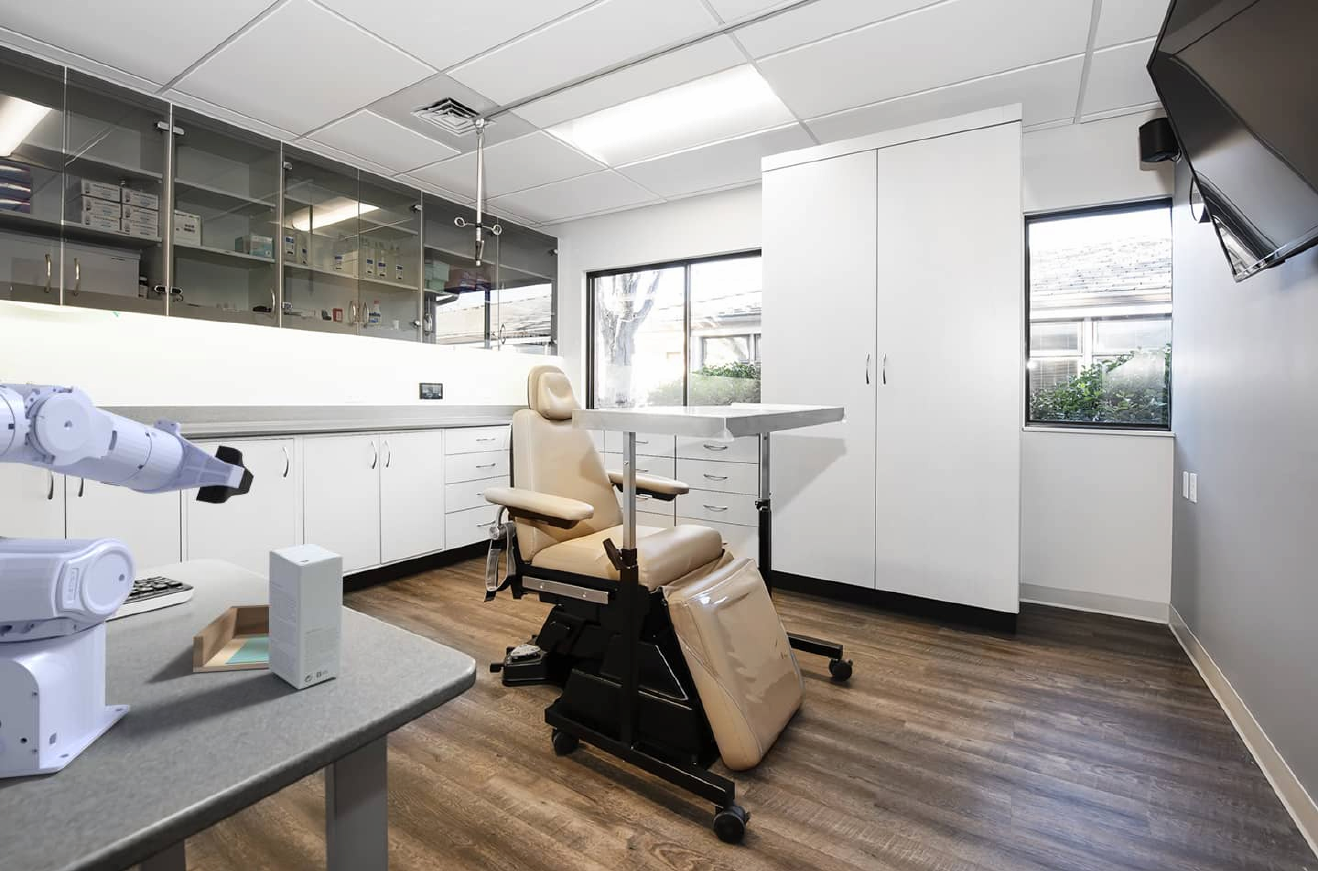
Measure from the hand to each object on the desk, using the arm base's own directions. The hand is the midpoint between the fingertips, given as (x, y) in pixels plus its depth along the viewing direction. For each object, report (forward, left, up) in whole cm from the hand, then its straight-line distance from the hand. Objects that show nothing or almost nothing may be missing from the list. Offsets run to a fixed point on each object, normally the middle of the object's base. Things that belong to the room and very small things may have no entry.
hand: (211, 477), depth 67 cm
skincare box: (-11, -12, -18) cm, 24 cm away
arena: (-3, -7, -18) cm, 20 cm away
